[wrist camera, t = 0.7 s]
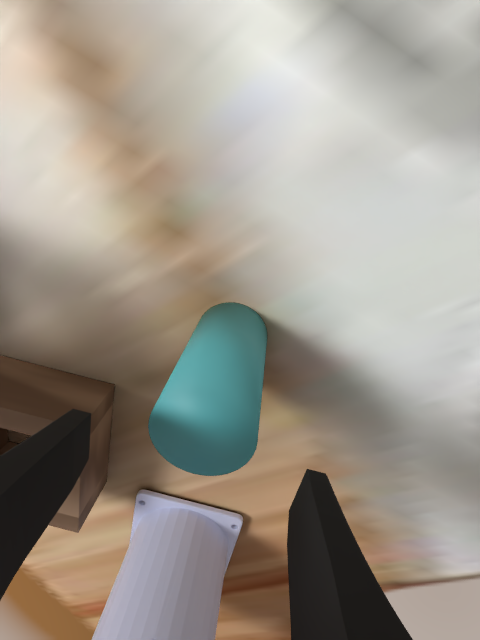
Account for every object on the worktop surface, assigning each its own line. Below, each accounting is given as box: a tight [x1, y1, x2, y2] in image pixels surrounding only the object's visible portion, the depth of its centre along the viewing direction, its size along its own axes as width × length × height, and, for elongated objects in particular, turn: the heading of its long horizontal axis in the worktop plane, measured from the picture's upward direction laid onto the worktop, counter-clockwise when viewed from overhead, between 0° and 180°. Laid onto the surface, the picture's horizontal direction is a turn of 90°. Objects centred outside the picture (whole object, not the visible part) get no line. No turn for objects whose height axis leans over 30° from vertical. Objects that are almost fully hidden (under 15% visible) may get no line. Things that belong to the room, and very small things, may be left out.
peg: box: [148, 303, 267, 476], centre depth 16 cm, size 4×4×8 cm
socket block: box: [0, 355, 115, 533], centre depth 22 cm, size 9×9×4 cm
